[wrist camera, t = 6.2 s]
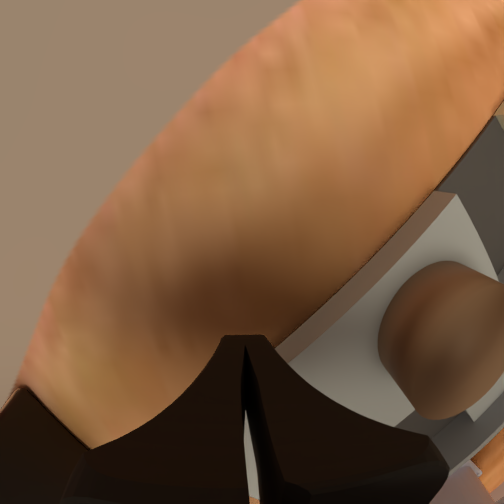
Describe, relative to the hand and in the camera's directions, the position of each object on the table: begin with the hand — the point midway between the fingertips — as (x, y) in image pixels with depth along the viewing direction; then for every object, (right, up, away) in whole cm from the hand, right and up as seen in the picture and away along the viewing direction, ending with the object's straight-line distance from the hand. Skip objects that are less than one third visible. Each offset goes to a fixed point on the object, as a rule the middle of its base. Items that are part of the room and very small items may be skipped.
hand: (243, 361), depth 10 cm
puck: (+8, +1, +1) cm, 8 cm away
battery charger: (-12, -7, +4) cm, 15 cm away
